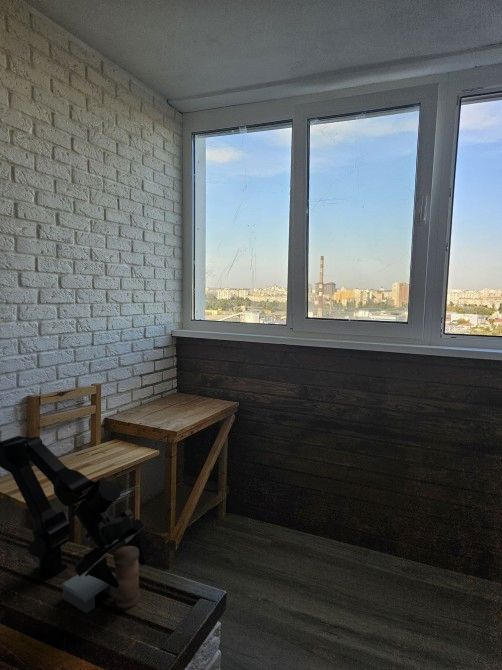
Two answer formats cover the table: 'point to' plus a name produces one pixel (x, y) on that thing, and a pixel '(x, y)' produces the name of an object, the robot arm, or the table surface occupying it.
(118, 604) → the brown flanged cylinder
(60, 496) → the robot arm
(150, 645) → the table surface
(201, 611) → the table surface
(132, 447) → the table surface
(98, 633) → the table surface
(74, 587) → the grey bridge block
